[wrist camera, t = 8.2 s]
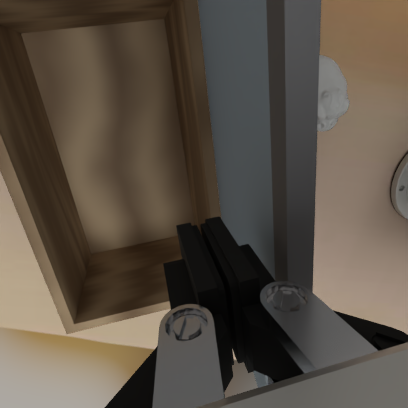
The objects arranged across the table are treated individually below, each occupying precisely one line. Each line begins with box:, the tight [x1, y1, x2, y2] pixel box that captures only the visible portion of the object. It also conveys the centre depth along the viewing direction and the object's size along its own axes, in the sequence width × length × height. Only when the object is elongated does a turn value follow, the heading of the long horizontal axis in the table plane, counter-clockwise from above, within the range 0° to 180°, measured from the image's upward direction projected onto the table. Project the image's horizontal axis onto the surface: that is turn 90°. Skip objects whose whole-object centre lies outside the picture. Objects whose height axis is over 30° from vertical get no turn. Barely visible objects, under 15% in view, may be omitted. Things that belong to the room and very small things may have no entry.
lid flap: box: [198, 0, 321, 388], centre depth 16 cm, size 14×24×1 cm
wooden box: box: [0, 0, 221, 334], centre depth 27 cm, size 14×24×12 cm, turn 7°
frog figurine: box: [317, 55, 350, 131], centre depth 31 cm, size 6×7×7 cm
